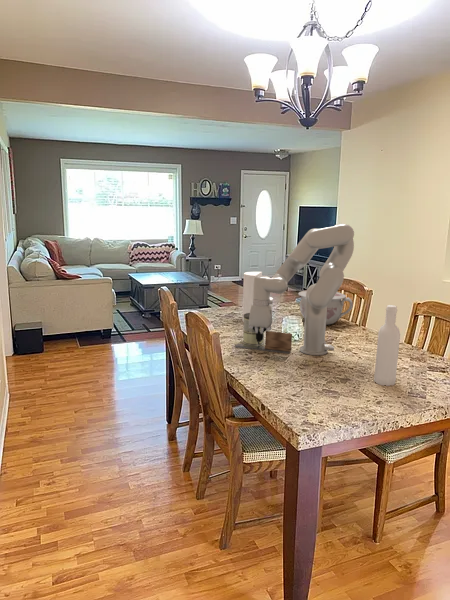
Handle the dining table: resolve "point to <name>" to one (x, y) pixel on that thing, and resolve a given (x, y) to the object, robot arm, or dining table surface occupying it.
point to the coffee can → (250, 333)
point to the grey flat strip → (259, 348)
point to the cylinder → (249, 291)
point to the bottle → (387, 349)
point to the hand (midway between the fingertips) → (259, 340)
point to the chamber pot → (329, 307)
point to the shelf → (278, 341)
